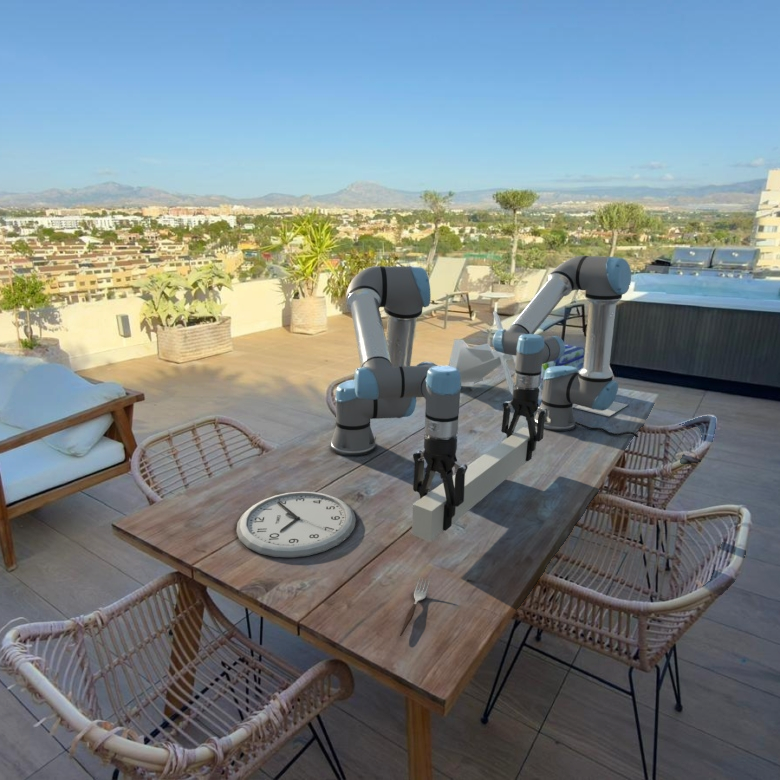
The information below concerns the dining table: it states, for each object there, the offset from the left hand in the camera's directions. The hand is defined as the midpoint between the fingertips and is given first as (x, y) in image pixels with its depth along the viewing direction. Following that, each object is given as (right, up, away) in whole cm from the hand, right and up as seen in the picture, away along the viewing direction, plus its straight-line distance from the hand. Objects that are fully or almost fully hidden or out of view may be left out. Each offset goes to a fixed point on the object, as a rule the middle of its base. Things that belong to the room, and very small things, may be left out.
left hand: (436, 523), depth 126 cm
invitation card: (+80, +25, +100) cm, 131 cm away
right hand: (+29, +11, +38) cm, 49 cm away
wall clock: (-35, -2, +8) cm, 36 cm away
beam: (+15, +5, +19) cm, 25 cm away
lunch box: (+70, +32, +124) cm, 146 cm away
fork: (-7, -12, -22) cm, 26 cm away
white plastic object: (+30, +31, +117) cm, 125 cm away
